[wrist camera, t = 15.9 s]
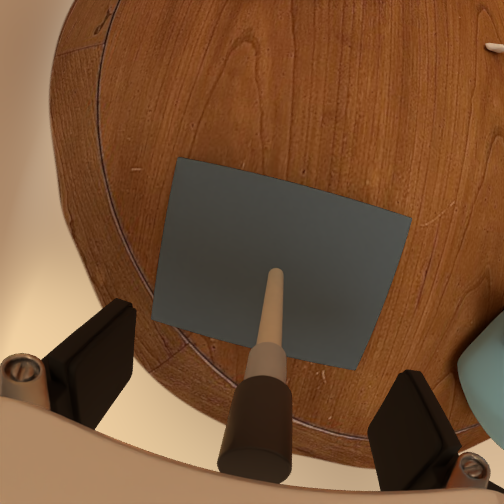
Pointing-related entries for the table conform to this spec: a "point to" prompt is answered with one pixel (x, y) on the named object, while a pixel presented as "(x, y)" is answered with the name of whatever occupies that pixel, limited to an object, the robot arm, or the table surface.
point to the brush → (262, 402)
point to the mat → (274, 261)
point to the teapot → (486, 378)
